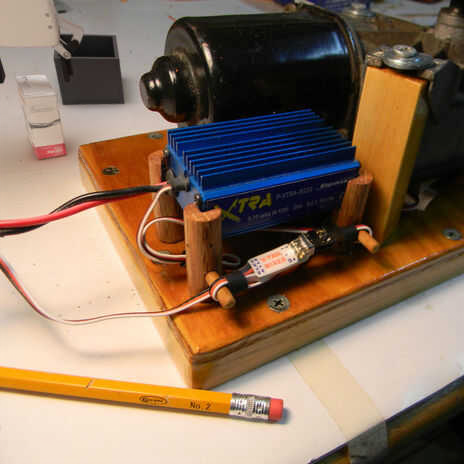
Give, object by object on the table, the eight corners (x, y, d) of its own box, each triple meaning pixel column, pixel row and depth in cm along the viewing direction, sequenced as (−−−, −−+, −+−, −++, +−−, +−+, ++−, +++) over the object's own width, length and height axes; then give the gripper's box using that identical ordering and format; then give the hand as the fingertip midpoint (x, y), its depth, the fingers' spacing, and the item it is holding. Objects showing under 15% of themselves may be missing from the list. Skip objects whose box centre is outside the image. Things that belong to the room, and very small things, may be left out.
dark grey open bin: (62, 104, 99) (53, 57, 92) (64, 77, 108) (55, 33, 102) (124, 103, 103) (119, 58, 97) (120, 77, 113) (115, 35, 106)
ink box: (69, 155, 85) (56, 92, 77) (38, 160, 82) (21, 96, 75) (57, 133, 90) (44, 72, 82) (28, 137, 87) (11, 75, 80)
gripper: (73, -38, 73) (91, 70, 84) (-61, -46, 67) (-22, 71, 78) (72, -26, 68) (92, 88, 79) (-73, -33, 62) (-29, 91, 73)
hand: (35, 79), depth 78 cm, fingers open, 9 cm apart
